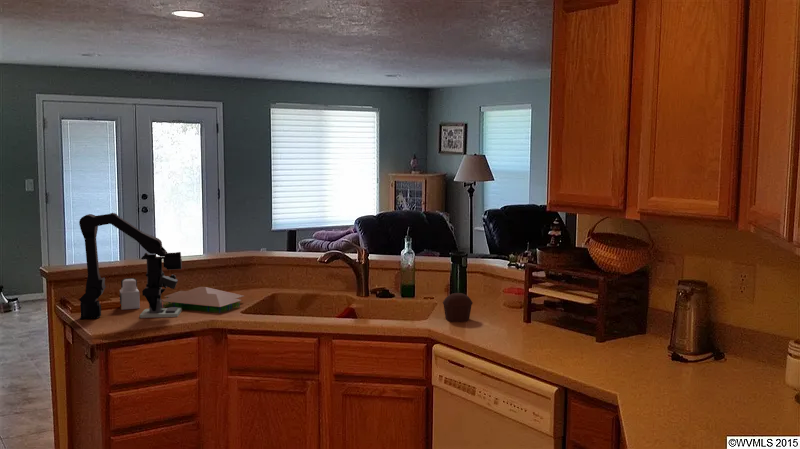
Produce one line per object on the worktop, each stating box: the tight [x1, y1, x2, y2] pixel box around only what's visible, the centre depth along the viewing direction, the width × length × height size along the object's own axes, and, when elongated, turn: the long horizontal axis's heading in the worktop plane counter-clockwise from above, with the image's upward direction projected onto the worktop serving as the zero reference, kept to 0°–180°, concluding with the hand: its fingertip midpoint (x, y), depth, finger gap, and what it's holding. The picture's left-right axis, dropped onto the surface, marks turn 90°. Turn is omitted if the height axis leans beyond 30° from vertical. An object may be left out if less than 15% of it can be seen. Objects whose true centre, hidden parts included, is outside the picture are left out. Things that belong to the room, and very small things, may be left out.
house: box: [162, 286, 245, 314], centre depth 304 cm, size 23×33×8 cm
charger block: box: [148, 298, 163, 313], centre depth 286 cm, size 4×4×6 cm
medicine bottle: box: [119, 277, 141, 311], centre depth 299 cm, size 7×7×12 cm
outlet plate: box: [139, 306, 183, 319], centre depth 287 cm, size 14×11×2 cm
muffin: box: [442, 292, 474, 323], centre depth 278 cm, size 12×11×10 cm
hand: (155, 309), depth 286 cm, fingers open, 6 cm apart
